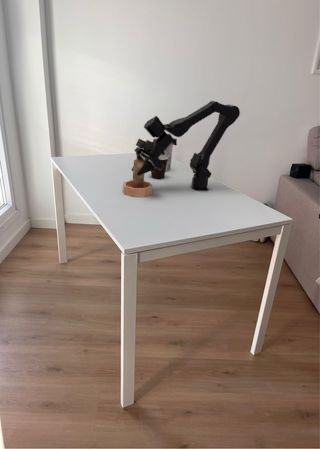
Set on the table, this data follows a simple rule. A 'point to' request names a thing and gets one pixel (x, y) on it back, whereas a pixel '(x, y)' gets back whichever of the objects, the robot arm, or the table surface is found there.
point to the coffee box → (167, 155)
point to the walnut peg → (137, 180)
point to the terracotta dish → (137, 189)
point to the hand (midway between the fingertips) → (135, 172)
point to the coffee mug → (157, 173)
